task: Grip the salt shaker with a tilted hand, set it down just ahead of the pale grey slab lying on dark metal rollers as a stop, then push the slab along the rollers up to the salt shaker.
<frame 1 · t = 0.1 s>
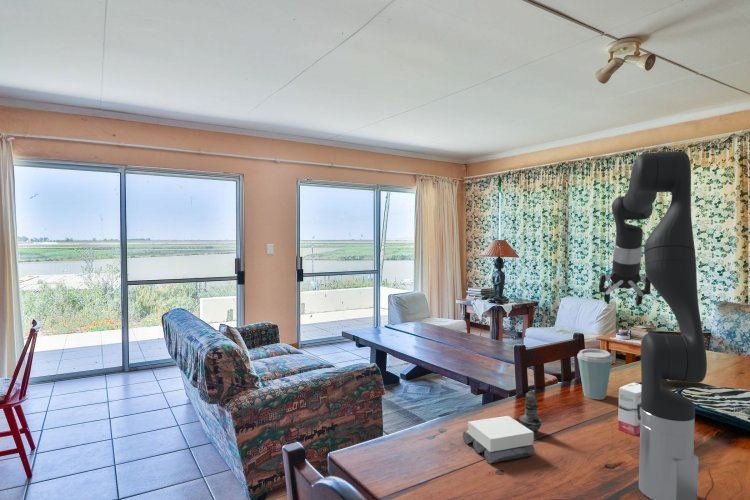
hand: (622, 303, 142), 31 cm above the table, tool tilted 20°, fingers open, 8 cm apart
disposable coffee cup: (593, 396, 145), on the table
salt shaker: (530, 433, 118), on the table
slab: (499, 432, 107), point 5 cm above the table, slide at 0.0 cm
ink box: (634, 429, 121), on the table
roller track: (499, 450, 108), on the table
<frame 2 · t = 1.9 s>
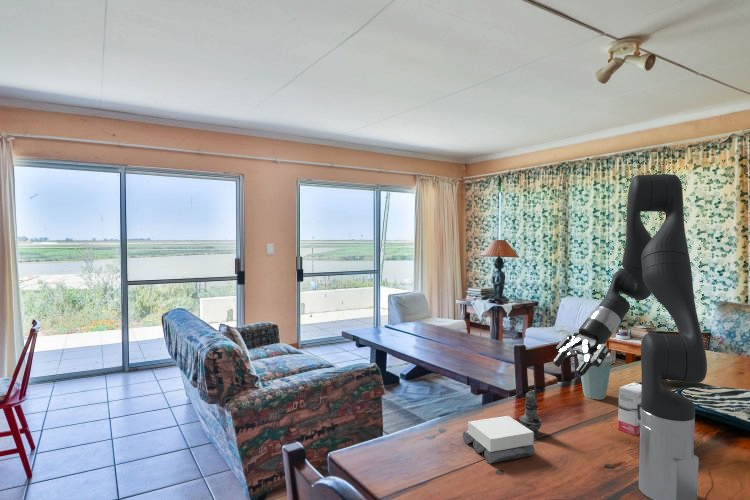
hand: (566, 369, 121), 16 cm above the table, tool tilted 45°, fingers open, 8 cm apart
nothing on the table moved.
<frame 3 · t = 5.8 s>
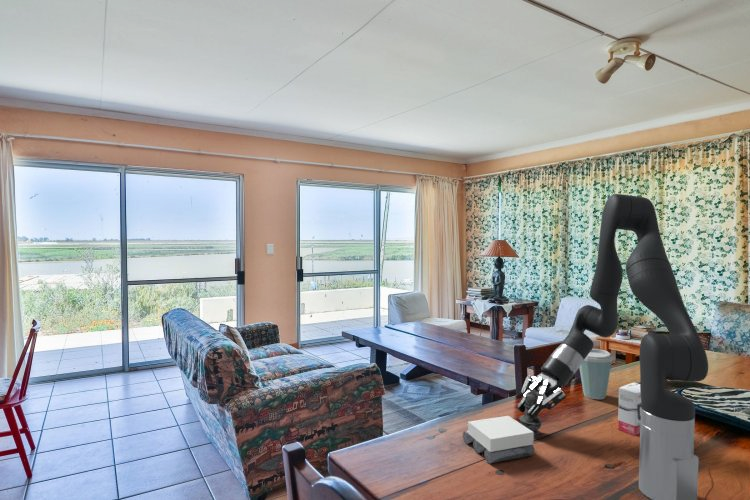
hand: (524, 413, 117), 6 cm above the table, tool tilted 45°, fingers closed on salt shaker, 3 cm apart
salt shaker: (530, 433, 118), on the table, touching gripper
everything else where it was.
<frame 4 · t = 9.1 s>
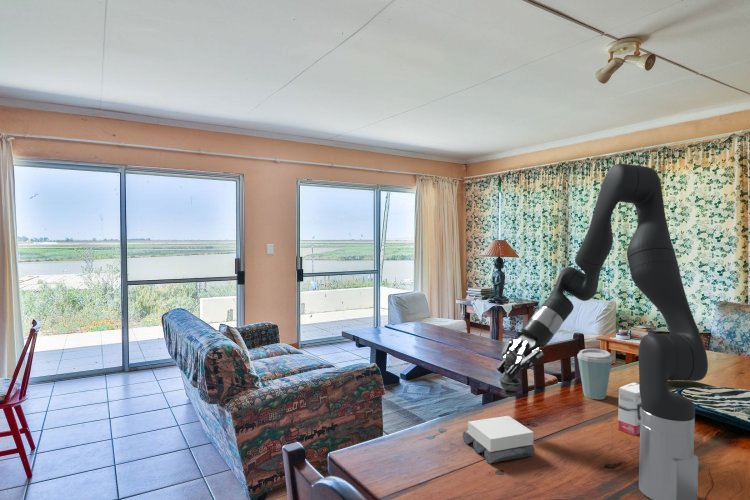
hand: (504, 373, 118), 16 cm above the table, tool tilted 45°, fingers closed on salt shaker, 3 cm apart
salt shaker: (510, 393, 119), point 10 cm above the table, touching gripper
everything else where it was.
when the fingers open (7 cm above the table, at t = 12.3 s): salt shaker drops 1 cm, on the table.
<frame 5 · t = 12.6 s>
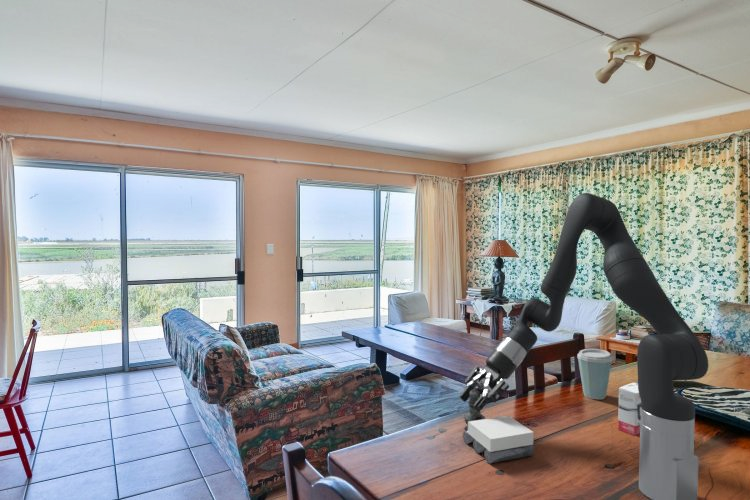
hand: (468, 404, 118), 7 cm above the table, tool tilted 45°, fingers open, 6 cm apart
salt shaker: (474, 430, 119), on the table
everything else where it was.
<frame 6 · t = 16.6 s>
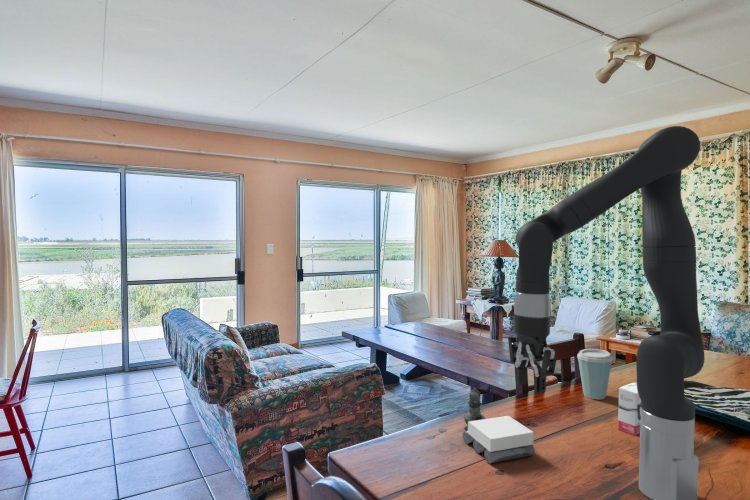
hand: (530, 388, 97), 19 cm above the table, tool pointing down, fingers open, 5 cm apart
nothing on the table moved.
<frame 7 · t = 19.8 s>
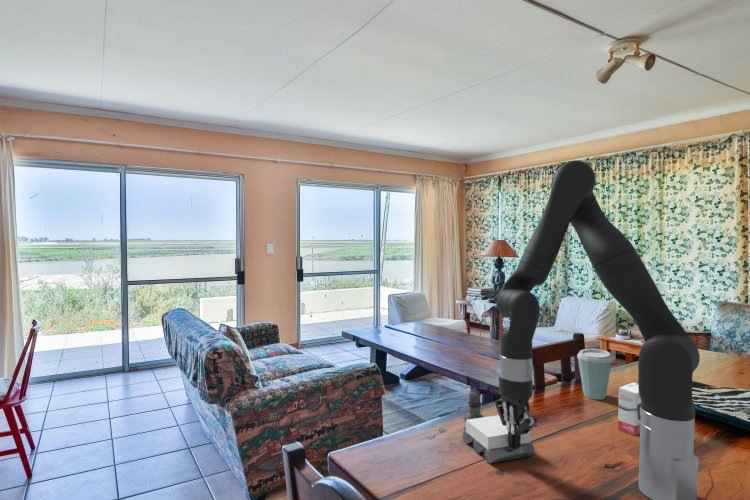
hand: (513, 447, 102), 4 cm above the table, tool pointing down, fingers closed
slab: (497, 430, 109), point 5 cm above the table, slide at 1.1 cm, touching gripper
everything else where it was.
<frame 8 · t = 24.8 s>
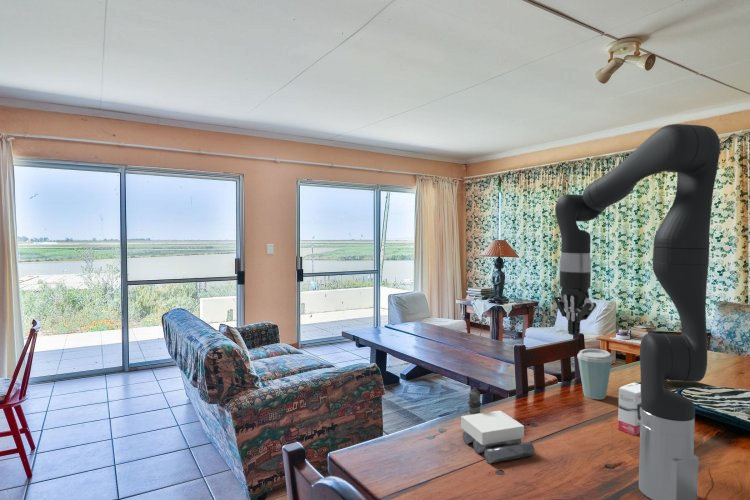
hand: (573, 334, 116), 27 cm above the table, tool pointing down, fingers closed
slab: (491, 426, 111), point 5 cm above the table, slide at 3.5 cm
everything else where it was.
at the end: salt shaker inside the target area (0.3 cm from its centre), on the table; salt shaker tilted 0°; slab slide at 3.5 cm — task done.
